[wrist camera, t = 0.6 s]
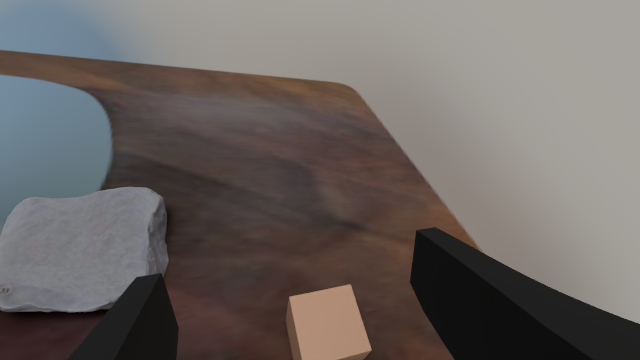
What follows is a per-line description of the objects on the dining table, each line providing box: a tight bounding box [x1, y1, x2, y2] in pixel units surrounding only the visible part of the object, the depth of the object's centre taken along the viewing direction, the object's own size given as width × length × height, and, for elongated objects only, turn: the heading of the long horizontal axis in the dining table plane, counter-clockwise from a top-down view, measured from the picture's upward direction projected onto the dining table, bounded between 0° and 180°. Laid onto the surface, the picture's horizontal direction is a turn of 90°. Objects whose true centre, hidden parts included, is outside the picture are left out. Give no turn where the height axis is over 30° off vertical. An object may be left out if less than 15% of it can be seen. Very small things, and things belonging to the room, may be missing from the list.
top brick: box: [286, 285, 372, 360], centre depth 24 cm, size 4×4×5 cm
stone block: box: [0, 187, 169, 313], centre depth 27 cm, size 12×5×10 cm
